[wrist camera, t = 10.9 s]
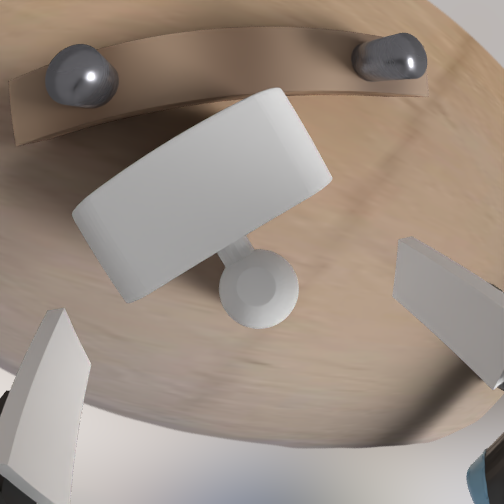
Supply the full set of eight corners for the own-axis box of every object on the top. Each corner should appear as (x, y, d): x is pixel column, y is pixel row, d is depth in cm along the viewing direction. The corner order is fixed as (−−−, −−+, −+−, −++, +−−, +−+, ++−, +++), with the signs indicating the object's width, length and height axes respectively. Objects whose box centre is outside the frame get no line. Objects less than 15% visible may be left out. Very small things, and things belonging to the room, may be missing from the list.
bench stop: (381, 53, 16) (464, 41, 10) (386, 96, 17) (470, 99, 11) (41, 88, 12) (-28, 75, 6) (47, 139, 13) (-20, 155, 7)
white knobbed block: (221, 340, 20) (234, 450, 10) (131, 203, 18) (56, 219, 8) (327, 276, 20) (415, 343, 11) (248, 132, 18) (290, 76, 8)
